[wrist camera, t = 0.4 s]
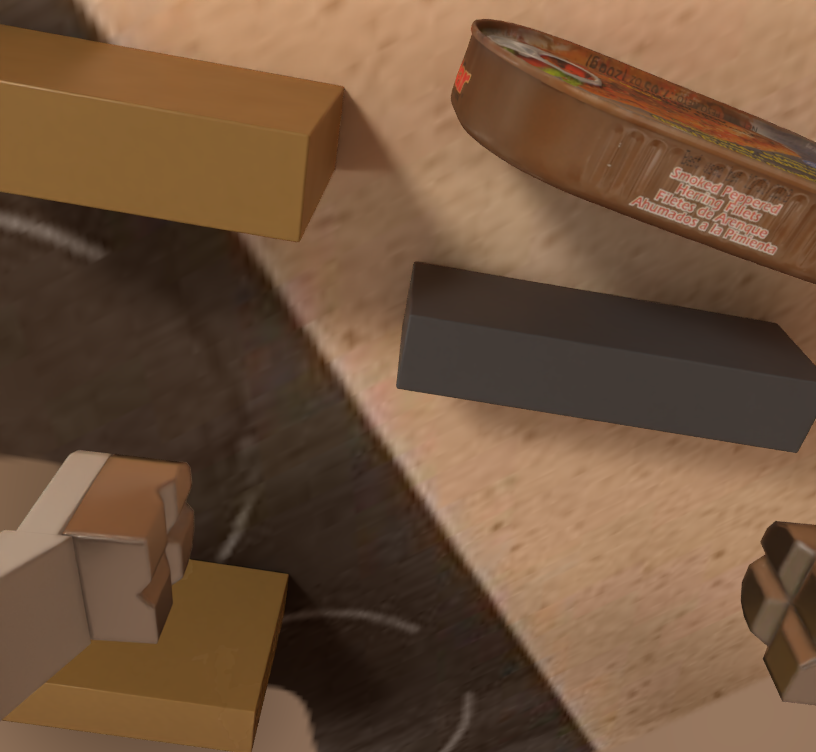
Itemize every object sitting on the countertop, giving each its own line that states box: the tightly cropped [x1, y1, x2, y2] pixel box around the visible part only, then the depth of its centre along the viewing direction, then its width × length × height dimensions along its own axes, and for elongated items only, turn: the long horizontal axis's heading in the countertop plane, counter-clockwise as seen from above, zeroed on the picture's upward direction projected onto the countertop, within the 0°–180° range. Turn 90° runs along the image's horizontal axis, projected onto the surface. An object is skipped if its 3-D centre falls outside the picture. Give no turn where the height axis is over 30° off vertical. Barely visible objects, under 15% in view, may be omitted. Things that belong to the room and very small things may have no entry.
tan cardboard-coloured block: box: [2, 559, 289, 752], centre depth 35 cm, size 3×14×8 cm, turn 81°
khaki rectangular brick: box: [0, 24, 344, 242], centre depth 23 cm, size 3×14×8 cm, turn 81°
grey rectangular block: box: [396, 262, 816, 453], centre depth 28 cm, size 3×15×5 cm, turn 81°
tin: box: [451, 19, 816, 284], centre depth 23 cm, size 15×3×8 cm, turn 70°
